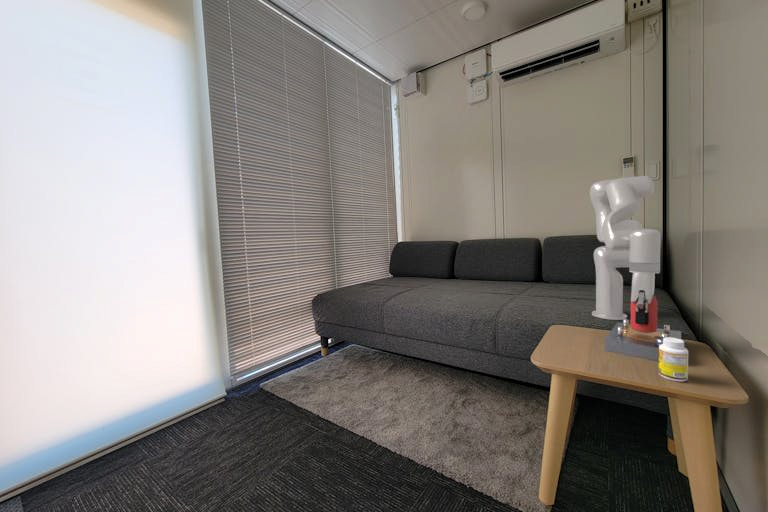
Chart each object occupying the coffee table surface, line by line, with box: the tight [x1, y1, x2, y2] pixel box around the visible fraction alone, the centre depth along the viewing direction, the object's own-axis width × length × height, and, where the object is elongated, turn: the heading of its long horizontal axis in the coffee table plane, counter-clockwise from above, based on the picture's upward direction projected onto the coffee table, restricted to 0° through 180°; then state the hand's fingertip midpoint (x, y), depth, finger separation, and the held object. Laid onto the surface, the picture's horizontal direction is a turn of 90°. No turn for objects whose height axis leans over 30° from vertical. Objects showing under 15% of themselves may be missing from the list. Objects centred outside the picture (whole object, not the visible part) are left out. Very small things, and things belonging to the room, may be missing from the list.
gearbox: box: [604, 319, 682, 362], centre depth 99 cm, size 25×17×7 cm
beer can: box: [630, 294, 658, 333], centre depth 98 cm, size 7×7×12 cm
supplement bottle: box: [658, 337, 689, 382], centre depth 78 cm, size 6×6×10 cm
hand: (643, 320), depth 98 cm, fingers closed on beer can, 6 cm apart
